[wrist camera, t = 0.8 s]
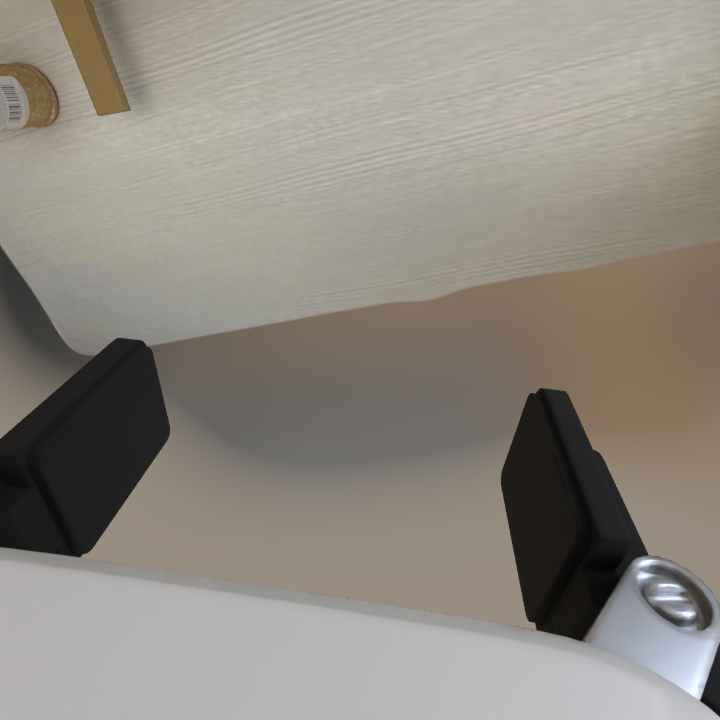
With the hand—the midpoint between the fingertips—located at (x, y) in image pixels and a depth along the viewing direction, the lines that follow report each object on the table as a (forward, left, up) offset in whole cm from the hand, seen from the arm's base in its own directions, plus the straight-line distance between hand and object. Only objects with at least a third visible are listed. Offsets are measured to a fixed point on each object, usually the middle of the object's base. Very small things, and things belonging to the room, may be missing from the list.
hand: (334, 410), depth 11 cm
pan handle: (+10, -21, -27) cm, 36 cm away
